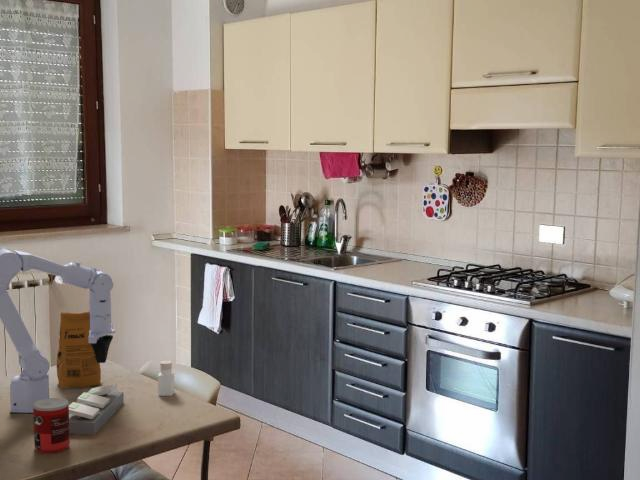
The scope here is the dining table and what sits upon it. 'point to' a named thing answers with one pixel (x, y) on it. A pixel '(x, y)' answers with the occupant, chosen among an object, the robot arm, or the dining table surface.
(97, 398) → the rocker
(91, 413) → the rocker
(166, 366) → the pepper shaker
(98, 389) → the rocker
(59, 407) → the canned food
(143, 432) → the dining table surface
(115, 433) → the dining table surface
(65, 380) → the coffee package
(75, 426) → the switch strip
